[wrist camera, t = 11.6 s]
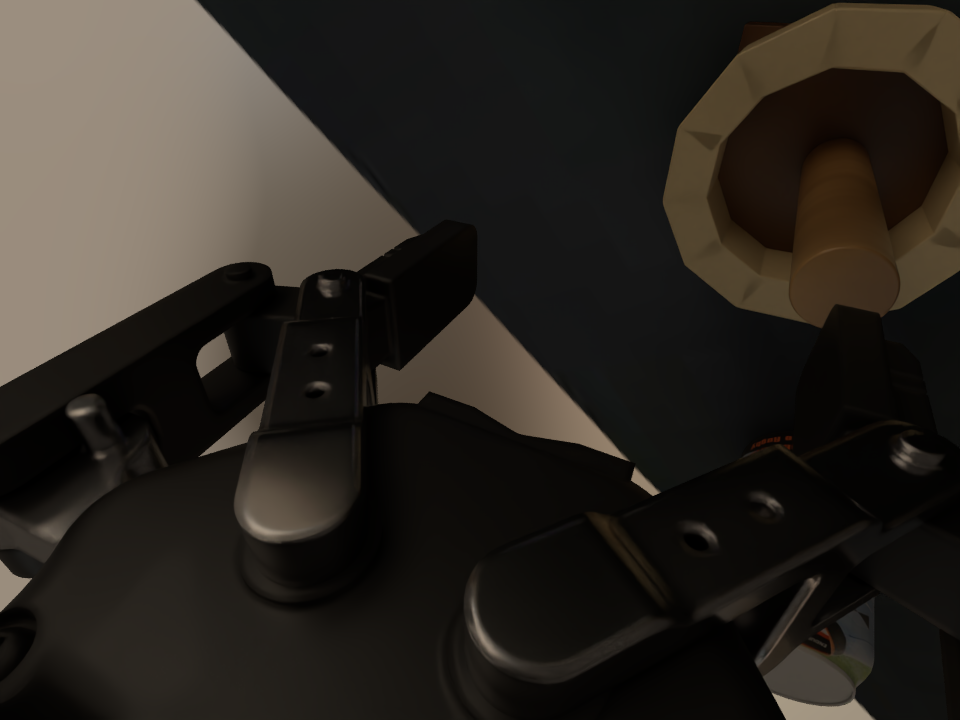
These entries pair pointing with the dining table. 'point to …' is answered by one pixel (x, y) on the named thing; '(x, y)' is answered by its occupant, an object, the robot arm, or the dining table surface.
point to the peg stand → (834, 179)
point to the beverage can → (823, 643)
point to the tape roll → (781, 63)
